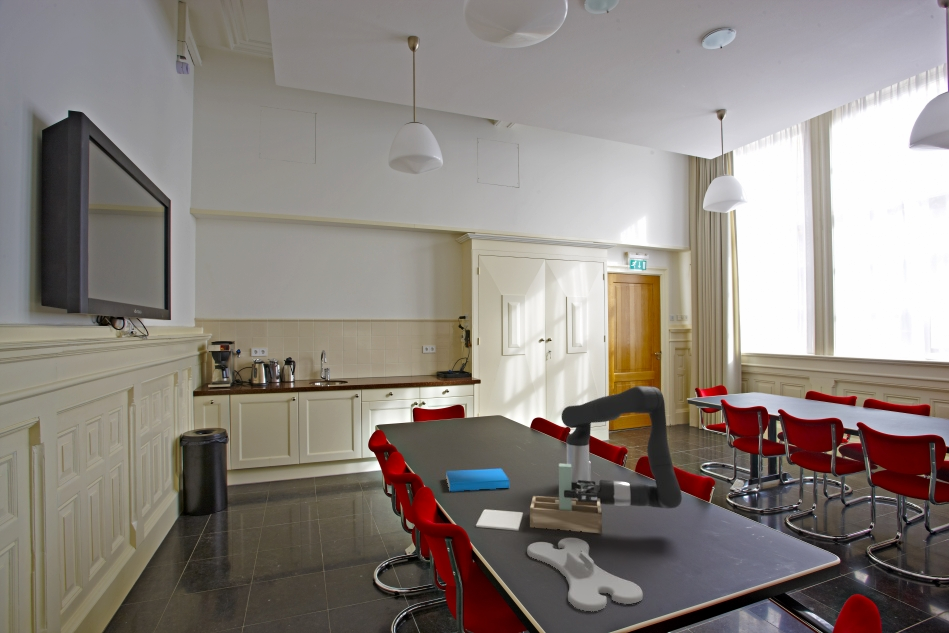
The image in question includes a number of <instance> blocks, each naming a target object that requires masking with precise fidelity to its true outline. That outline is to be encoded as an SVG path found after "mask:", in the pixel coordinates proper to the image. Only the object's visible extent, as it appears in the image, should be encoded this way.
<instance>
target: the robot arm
mask: <svg viewBox="0 0 949 633" xmlns="http://www.w3.org/2000/svg"><path fill="white" fill-rule="evenodd" d="M624 414H648V415H649V418H650V423H651V425H650V426H651V428H650V434H649V439H648V442H647V448H646V450H647V458H648V464H649V467H650V472H651V474H652V476H653V477H654V481H655V485H654V484H645V483H641V482H627V481H623V480H622V481H621V480H611V479H610V480H609V479H607V480H606V479H600V480H599V484H598V485H597V484H596V481H595V480H592V473H591V472H592V467H591V466H592V464H591V461H590V438H591V426H592V424H593V423H605V422H610V421H615V420H617V419H619V418H620V417H621V416H622V415H624ZM666 416H667V414H666V404H665V399H664V395H663V392H662V391H661V390H660V389H659V388H658V387H655V386H647V385H646V386H644V385H643V386H642V385H637V386H633V387H631V388H629V389H626V390H625V391H621V392H619V393H616V394H610V395H606V396H605V395H604V396H602V397H598V398H595V399H593V400H590V401H588V402H585V403H583V404H577V405H576V404H575V405H569V406H567V407H565V408H564V409H563V410H562V412H561V421H562V423H563V424H564V426H565V427H568V428H570V429H574V430H573V432H572V433H570V434H568V435H567V437H566V464H571V490H564V497H565V498H572V499H577V500H578V501H579V502H594V503H597V500H598V499H599V501H600V505H607V506H619V507H620V506H621V507H623V506H632V507H633V506H634V507H651V508H660V509H676V508H678V507H680V505H681V503H682V500H683V496H682V491H681V487H680V485H679V482H678V478H677V476H676V473H675V470H674V469H675V468H674V464H673V460H672V456H671V451H670V447H669V441H668V431H667V418H666Z"/></svg>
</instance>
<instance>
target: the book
mask: <svg viewBox="0 0 949 633" xmlns="http://www.w3.org/2000/svg"><path fill="white" fill-rule="evenodd" d="M445 472H446V473H445V474H446V476H445V478H446V479H447V480H446V483H448V484H447V487H449V488H448V490H449V492H450V491H451V492H464V490H470V491H480V490H479V489H490V490H497V489H496V488H509V489H510V479H509V477H508V476H507V474H506V473H505V472H504V470H503V468H487V469H486V468H485V469H467V470H466V469H463V470H461V469H460V470H446V471H445Z"/></svg>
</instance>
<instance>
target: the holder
mask: <svg viewBox="0 0 949 633" xmlns="http://www.w3.org/2000/svg"><path fill="white" fill-rule="evenodd" d="M560 548H562V549H560ZM526 553H527V556H529V558H531V557H532V558H531V559H533V558H534V559H533V560H535V559H537V560H536V561H539V560H540V561H539V562H541V561H542V563H544V562H545V563H544V564H546V563H547V565H548V564H550V565H551V567H552V566H553V568H554V567H555V568H556V569H555V568H554V569H555V570H557V569H558V570H559V571H560V572H559V571H558V570H557V571H558V572H559V573H561V575H563V577H564V576H565V577H566V578H565V577H564V578H565V579H566V581H567V583H568V586H569V589H568V592H567V600H568V603H569V602H570V603H571V604H572V605H573V606H574V607H573V606H572V605H571V604H570V603H569V604H570V605H571V606H572V607H573V608H575V607H576V608H575V609H576V610H579V609H580V610H579V611H582V610H584V611H583V612H586V611H591V612H590V613H595V612H594V611H597V612H599V611H598V610H601V609H603V608H604V609H606V607H607V605H606V604H607V603H608V600H607V599H608V598H607V596H605V595H602V594H606V593H608V594H607V595H609V594H610V597H611V601H612V600H613V601H612V602H614V601H616V602H615V603H617V602H618V604H620V603H624V604H623V605H626V604H631V603H636V602H639V601H641V600H643V597H644V594H643V593H644V592H643V590H642V588H641V587H640V586H639V585H638V584H636V583H635V582H633V581H630V580H628V579H624V578H621V577H619V576H616V575H615V574H614V575H613V574H611V573H609V572H607V571H606V570H604V569H602V568H600V567H599V566H597V564H596V563H595V560H593V559H592V558H591V557H590V555H589V553H590V546H589V544H588V542H587V541H585V540H584V539H580V538H579V537H578V538H577V537H565V538H561V539H560V540H559V541H558V543H557V548H555V547H554V544H552V543H551V542H545V541H537V542H536V541H535V542H533V543H531V544H529V545H528V546H527V550H526ZM550 565H549V566H550ZM600 593H601V594H600ZM641 602H642V601H641ZM639 603H640V602H639ZM605 606H606V607H605ZM604 609H603V610H604ZM592 611H593V612H592ZM601 611H602V610H601Z"/></svg>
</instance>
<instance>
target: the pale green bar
mask: <svg viewBox="0 0 949 633" xmlns="http://www.w3.org/2000/svg"><path fill="white" fill-rule="evenodd" d="M564 490H572V489H571V464H567V463H558V498H559V510H567V511H572V499H573V498H565V497H564Z"/></svg>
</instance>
